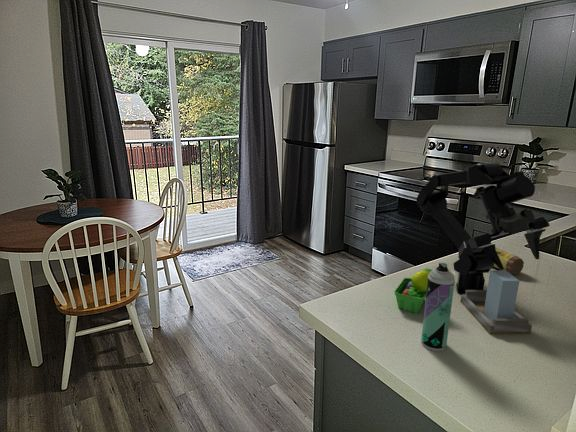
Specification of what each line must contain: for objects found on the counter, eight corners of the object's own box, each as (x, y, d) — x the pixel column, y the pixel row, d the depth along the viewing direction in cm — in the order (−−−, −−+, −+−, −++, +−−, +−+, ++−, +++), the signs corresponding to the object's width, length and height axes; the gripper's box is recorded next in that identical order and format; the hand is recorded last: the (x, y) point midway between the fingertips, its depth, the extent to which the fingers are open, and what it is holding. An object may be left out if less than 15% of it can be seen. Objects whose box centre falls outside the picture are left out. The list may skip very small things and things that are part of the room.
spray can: (426, 334, 93) (434, 257, 87) (449, 343, 89) (460, 263, 84) (417, 345, 88) (425, 264, 83) (441, 354, 85) (452, 271, 80)
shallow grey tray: (460, 301, 108) (461, 289, 107) (495, 301, 108) (497, 289, 107) (489, 333, 93) (491, 320, 92) (530, 333, 93) (533, 320, 92)
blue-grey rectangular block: (483, 312, 101) (490, 270, 98) (498, 312, 101) (505, 270, 98) (495, 324, 96) (502, 280, 92) (511, 324, 96) (519, 280, 92)
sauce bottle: (515, 257, 122) (466, 237, 140) (508, 275, 123) (460, 253, 141) (528, 259, 125) (478, 238, 142) (521, 276, 126) (472, 254, 144)
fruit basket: (403, 292, 114) (406, 257, 111) (434, 300, 109) (438, 263, 106) (392, 309, 104) (395, 271, 101) (425, 318, 100) (430, 278, 97)
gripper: (473, 214, 95) (496, 275, 93) (549, 191, 94) (575, 252, 91) (459, 219, 106) (479, 274, 104) (526, 199, 105) (549, 254, 102)
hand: (519, 264), depth 100 cm, fingers open, 9 cm apart
